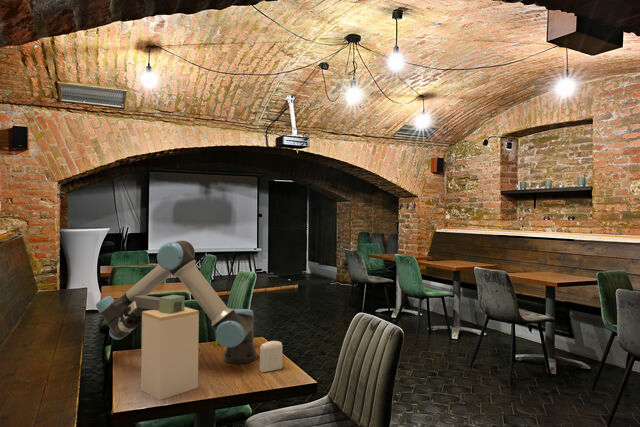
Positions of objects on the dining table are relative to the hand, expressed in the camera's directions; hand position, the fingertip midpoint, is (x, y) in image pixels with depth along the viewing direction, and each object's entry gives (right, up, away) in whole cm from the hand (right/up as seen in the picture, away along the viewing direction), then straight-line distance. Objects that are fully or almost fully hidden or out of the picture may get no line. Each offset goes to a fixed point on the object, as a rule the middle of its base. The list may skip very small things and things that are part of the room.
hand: (151, 302), depth 181 cm
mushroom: (+15, -32, +49) cm, 61 cm away
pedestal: (+11, -32, -9) cm, 35 cm away
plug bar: (+4, -2, -5) cm, 7 cm away
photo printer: (+47, -32, +13) cm, 59 cm away
